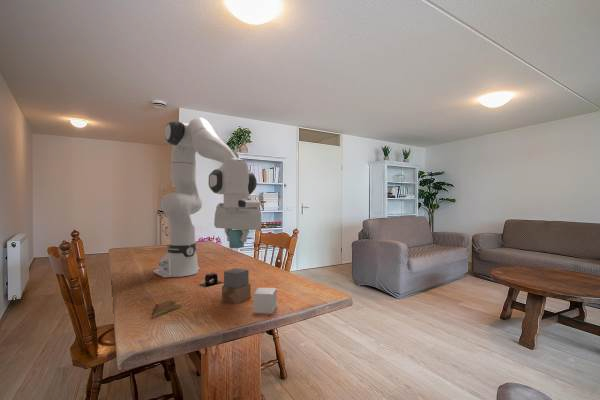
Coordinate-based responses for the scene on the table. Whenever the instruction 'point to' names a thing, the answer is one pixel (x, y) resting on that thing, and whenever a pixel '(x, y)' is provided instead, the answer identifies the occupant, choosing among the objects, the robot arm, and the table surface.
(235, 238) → the teal cylinder
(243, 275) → the tower upper block
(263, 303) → the white cube
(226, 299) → the tower lower block
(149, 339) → the table surface
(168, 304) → the shard
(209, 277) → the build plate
